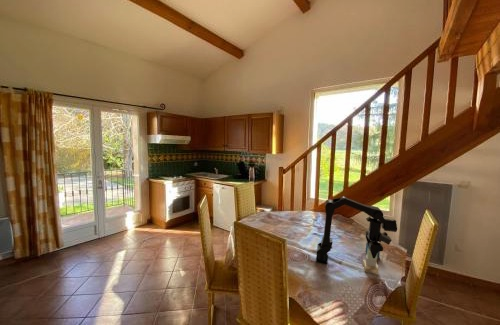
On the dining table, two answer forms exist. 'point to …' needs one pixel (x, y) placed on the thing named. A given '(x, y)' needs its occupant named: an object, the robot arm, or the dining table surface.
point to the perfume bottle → (368, 247)
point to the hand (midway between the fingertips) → (372, 253)
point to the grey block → (370, 262)
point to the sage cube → (371, 255)
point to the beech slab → (370, 268)
